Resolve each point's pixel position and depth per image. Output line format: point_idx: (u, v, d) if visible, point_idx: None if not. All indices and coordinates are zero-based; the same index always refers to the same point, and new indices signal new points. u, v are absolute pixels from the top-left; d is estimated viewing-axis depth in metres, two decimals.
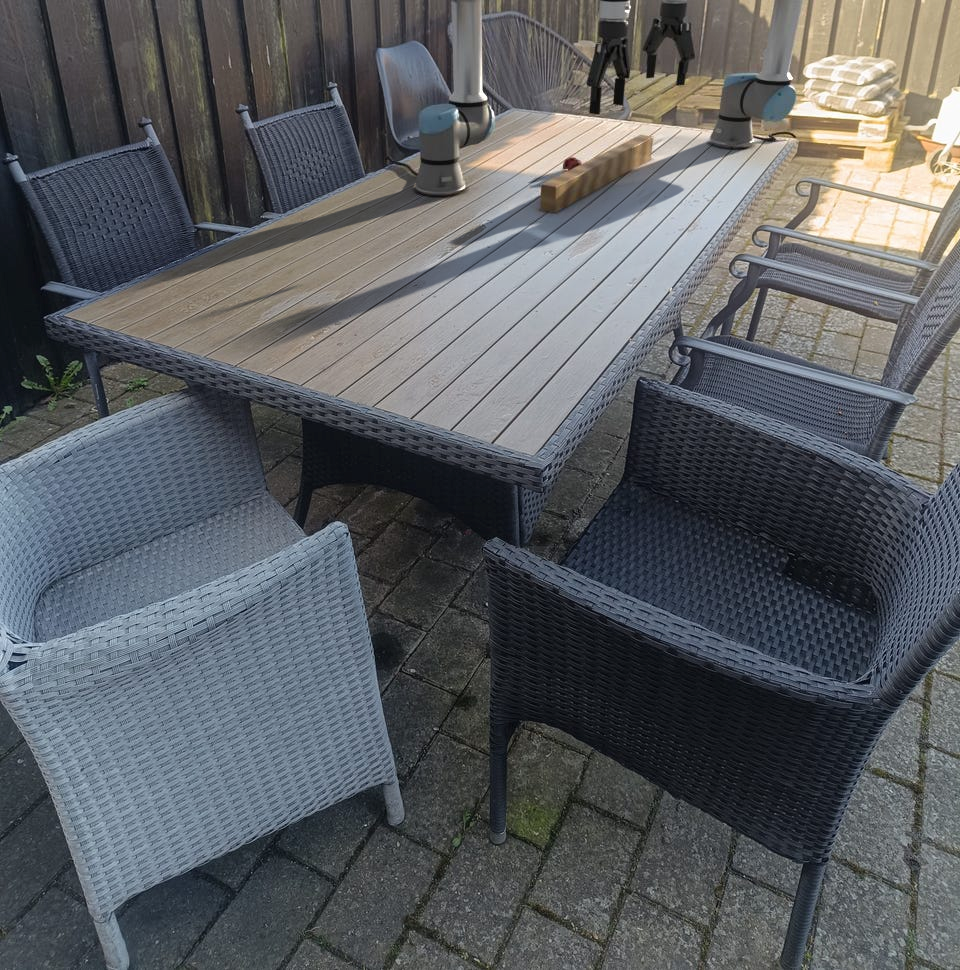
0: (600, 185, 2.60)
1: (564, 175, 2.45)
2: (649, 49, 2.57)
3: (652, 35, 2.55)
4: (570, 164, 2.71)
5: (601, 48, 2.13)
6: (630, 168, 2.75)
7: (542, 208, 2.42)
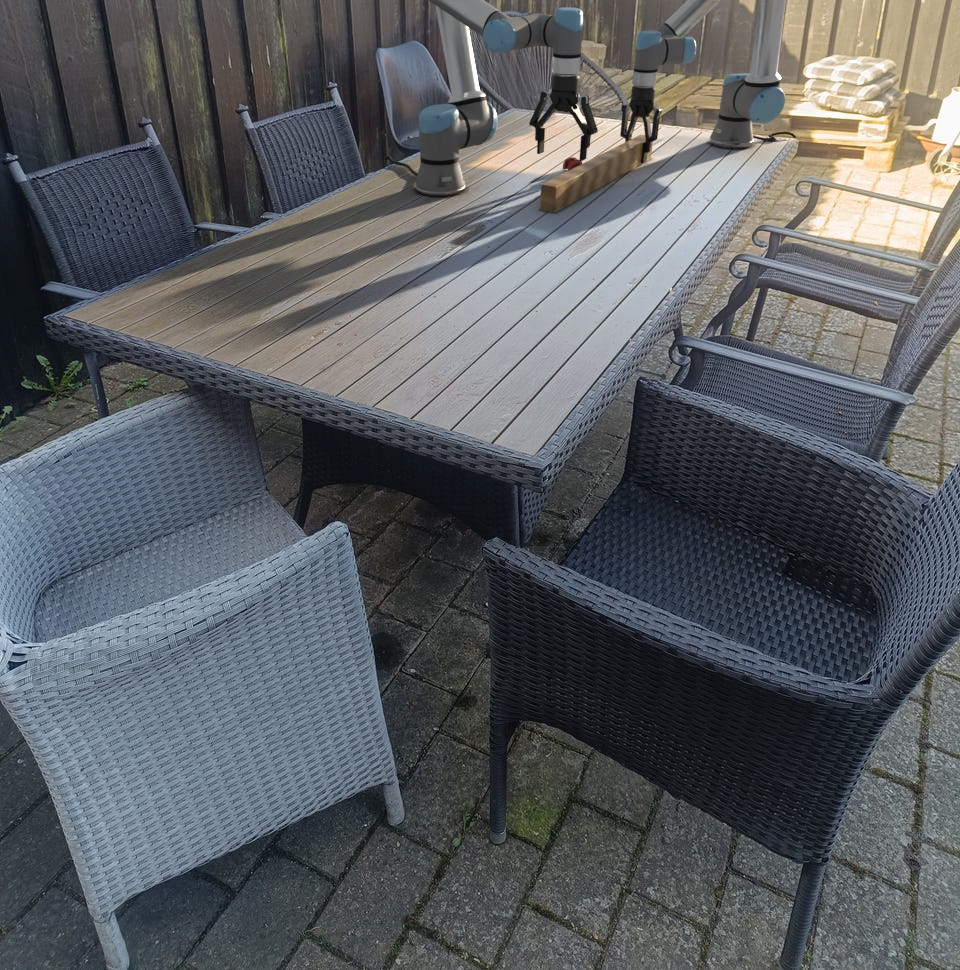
0: (600, 185, 2.60)
1: (564, 175, 2.45)
2: None
3: None
4: (570, 164, 2.71)
5: (588, 99, 2.27)
6: (630, 168, 2.75)
7: (542, 208, 2.42)
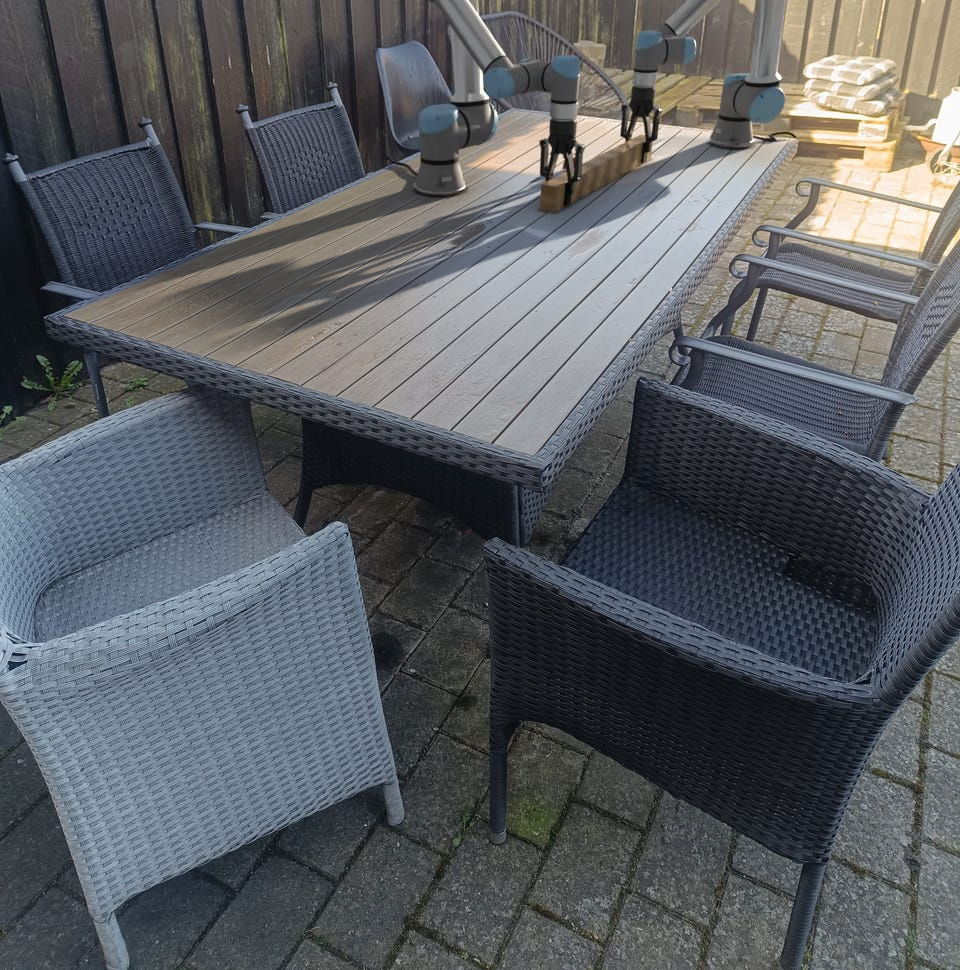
0: (600, 185, 2.60)
1: (564, 175, 2.45)
2: None
3: None
4: None
5: (583, 149, 2.34)
6: (630, 168, 2.75)
7: (542, 208, 2.42)
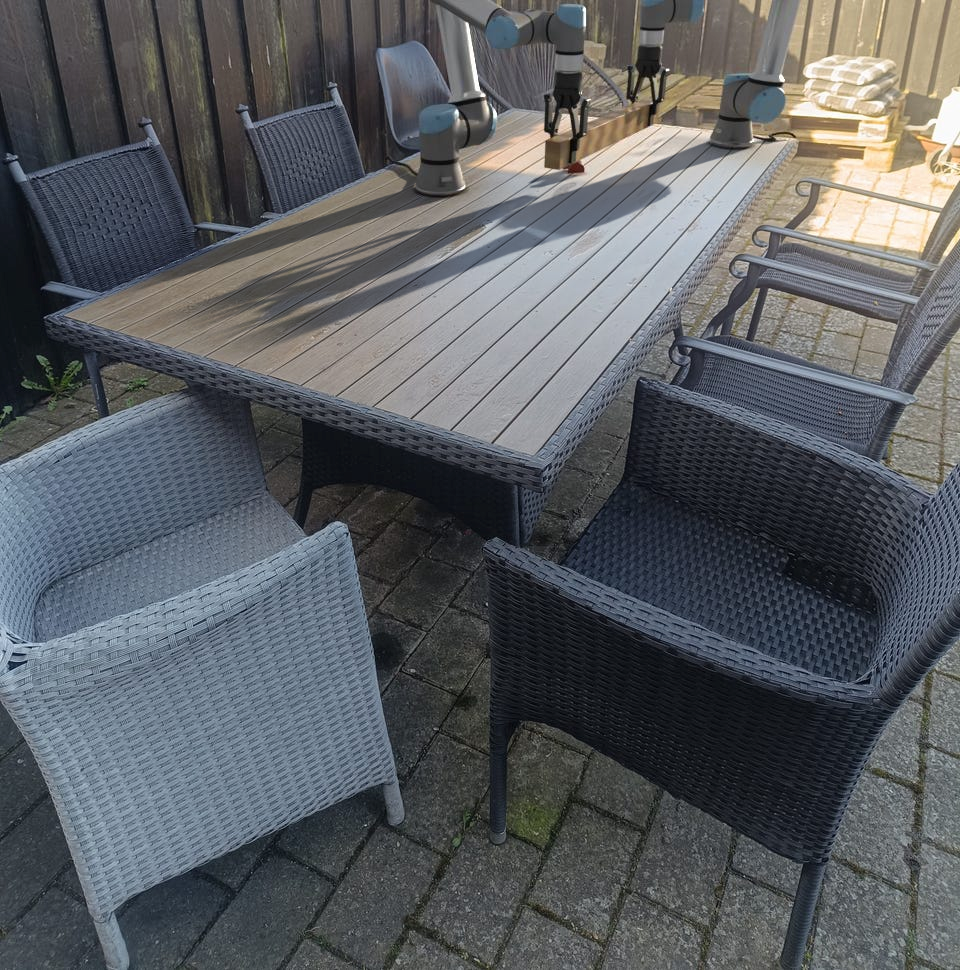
0: (606, 145, 2.53)
1: (569, 132, 2.39)
2: None
3: None
4: None
5: (589, 103, 2.27)
6: (636, 130, 2.68)
7: (546, 165, 2.35)
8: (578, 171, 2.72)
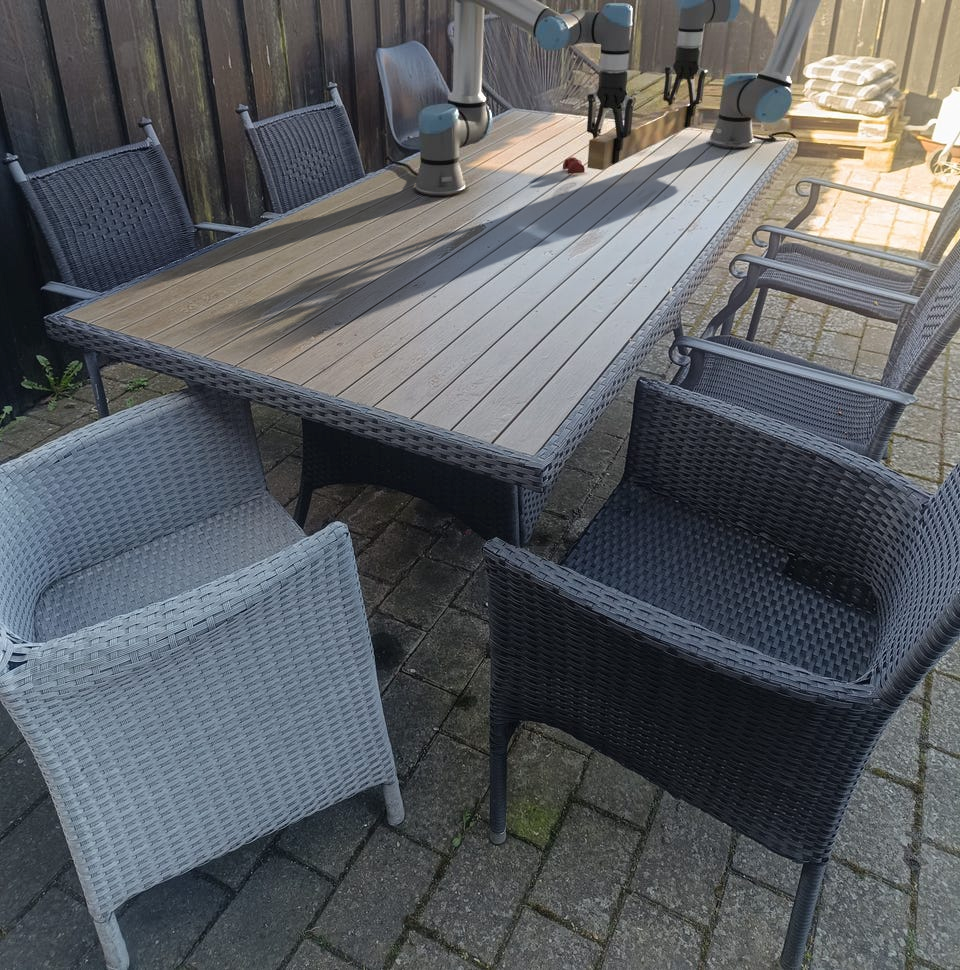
0: (646, 146, 2.52)
1: (612, 132, 2.37)
2: None
3: None
4: (570, 164, 2.71)
5: (634, 102, 2.25)
6: (674, 132, 2.67)
7: (590, 165, 2.33)
8: (578, 171, 2.72)
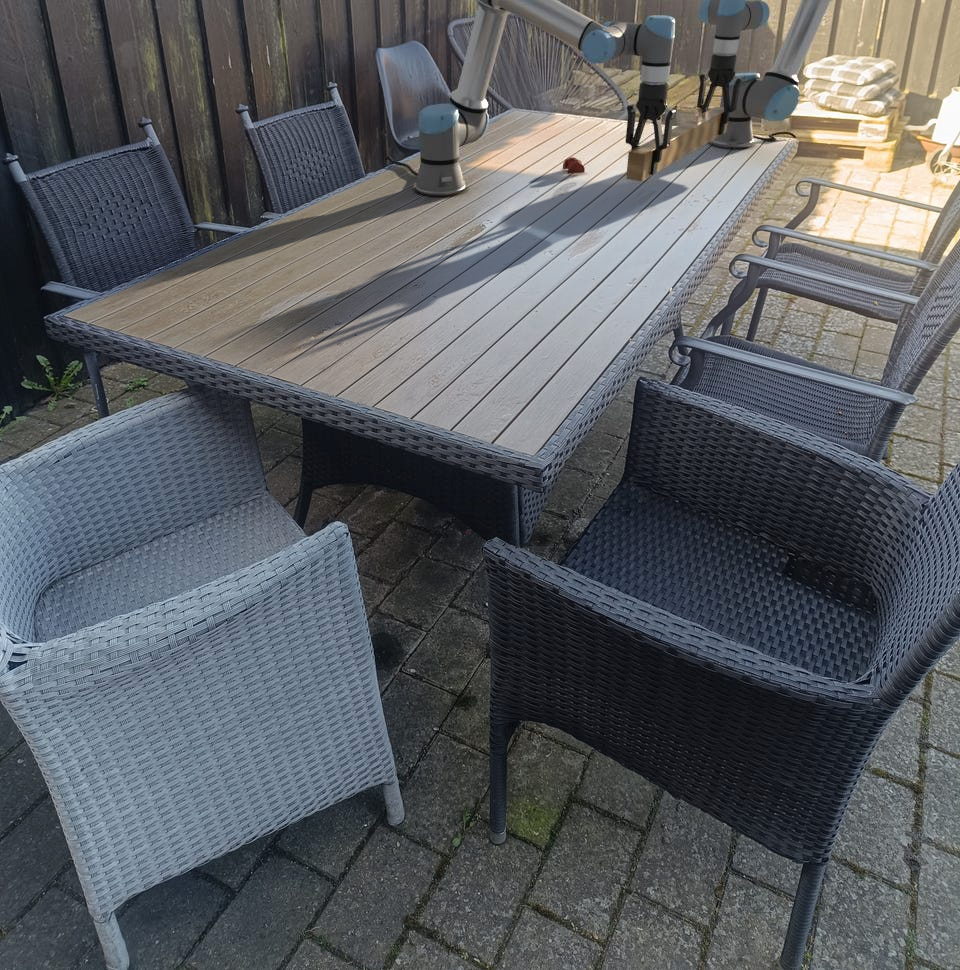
0: (682, 155, 2.52)
1: (650, 143, 2.37)
2: None
3: None
4: (570, 164, 2.71)
5: (674, 114, 2.26)
6: (708, 140, 2.67)
7: (628, 177, 2.33)
8: (578, 171, 2.72)
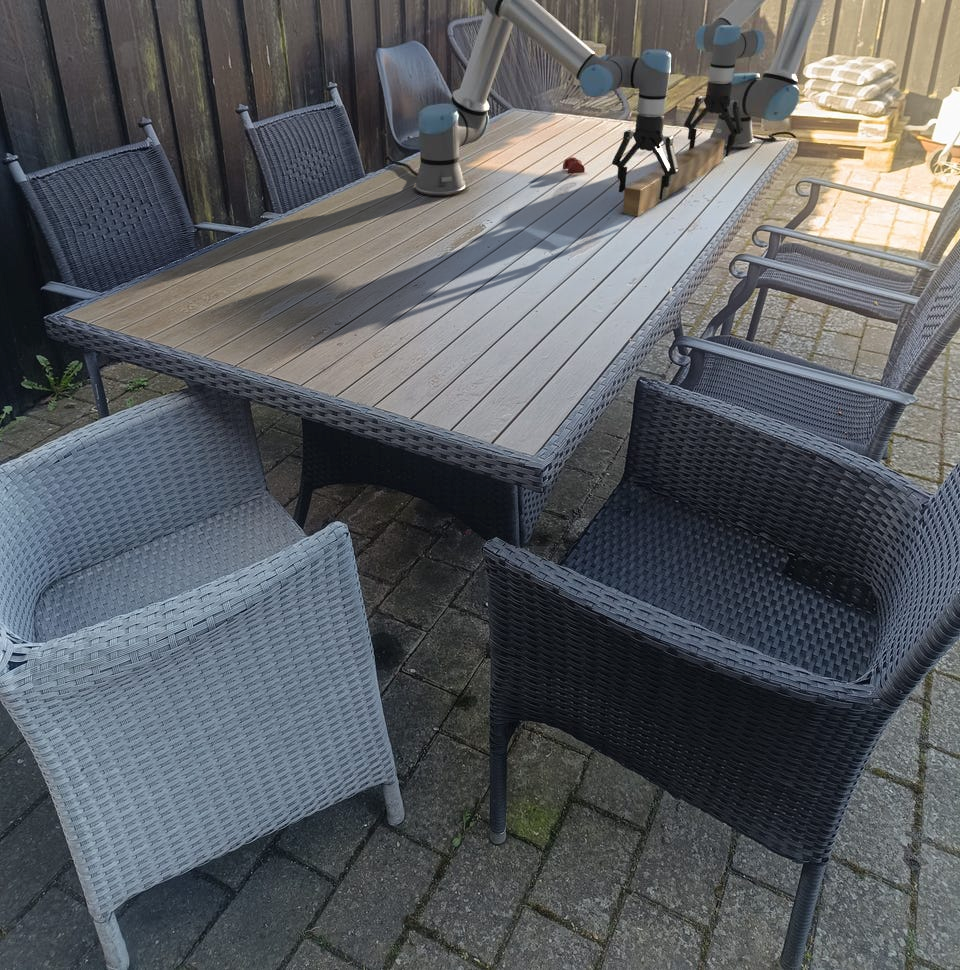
0: (677, 188, 2.57)
1: (646, 178, 2.43)
2: None
3: None
4: (570, 164, 2.71)
5: (672, 139, 2.29)
6: (704, 171, 2.72)
7: (624, 211, 2.39)
8: (578, 171, 2.72)
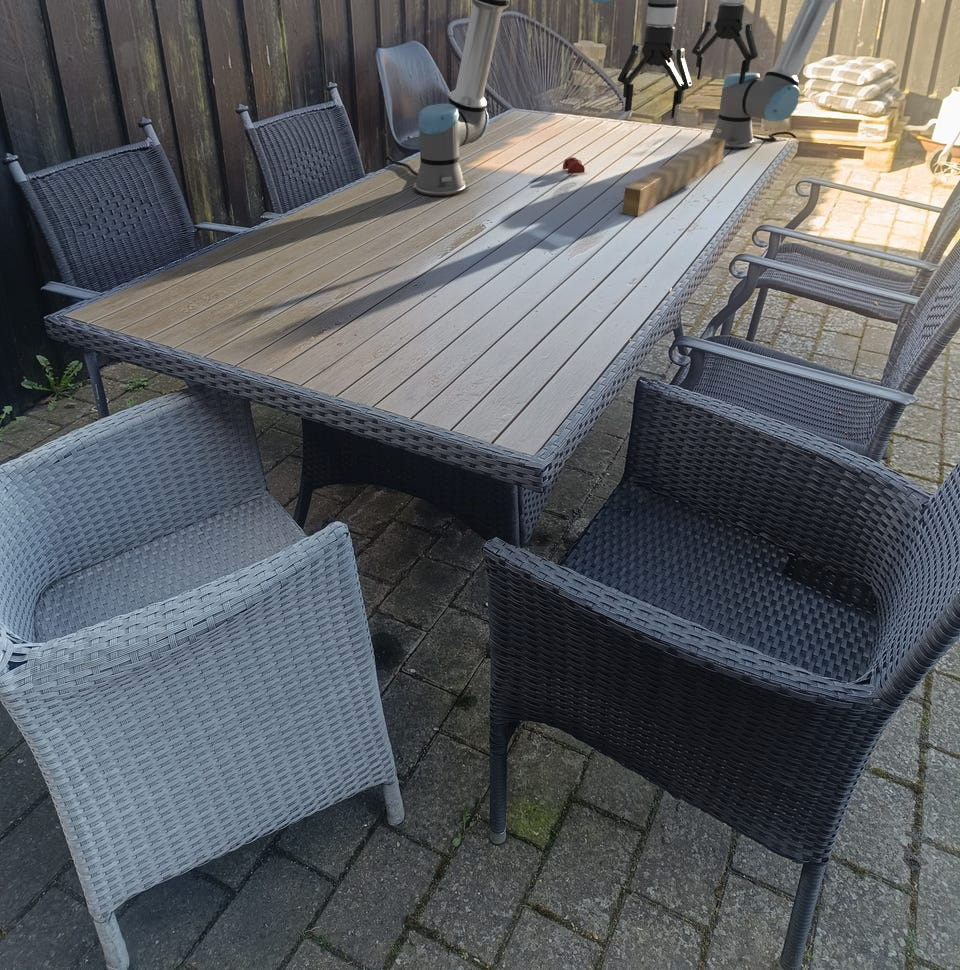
0: (677, 188, 2.57)
1: (646, 178, 2.43)
2: None
3: None
4: (570, 164, 2.71)
5: (683, 52, 2.17)
6: (704, 171, 2.72)
7: (624, 211, 2.39)
8: (578, 171, 2.72)
